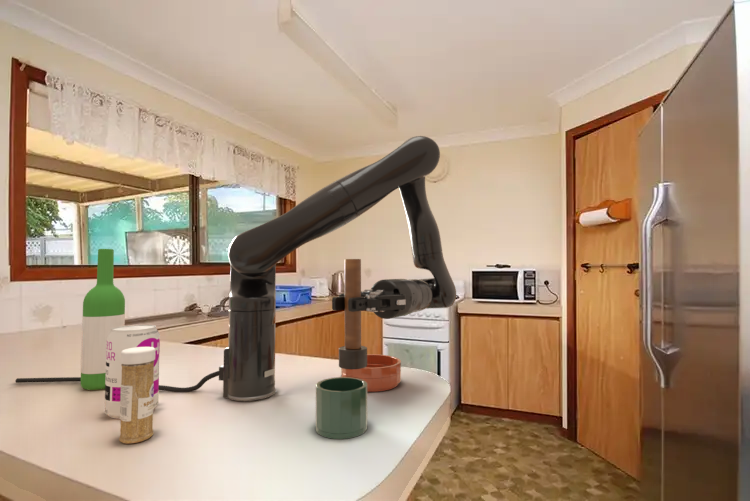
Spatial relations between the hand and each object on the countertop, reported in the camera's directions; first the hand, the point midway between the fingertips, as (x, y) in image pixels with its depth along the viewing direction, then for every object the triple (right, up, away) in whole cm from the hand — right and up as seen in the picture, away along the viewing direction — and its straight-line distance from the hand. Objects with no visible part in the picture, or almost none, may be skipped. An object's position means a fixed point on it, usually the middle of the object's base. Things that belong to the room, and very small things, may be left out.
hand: (342, 304), depth 65 cm
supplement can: (-38, -20, +6) cm, 44 cm away
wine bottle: (-54, -21, +22) cm, 62 cm away
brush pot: (0, -20, -1) cm, 20 cm away
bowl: (+5, -21, +23) cm, 32 cm away
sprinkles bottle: (-31, -20, -5) cm, 37 cm away
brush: (+2, -11, +2) cm, 11 cm away
